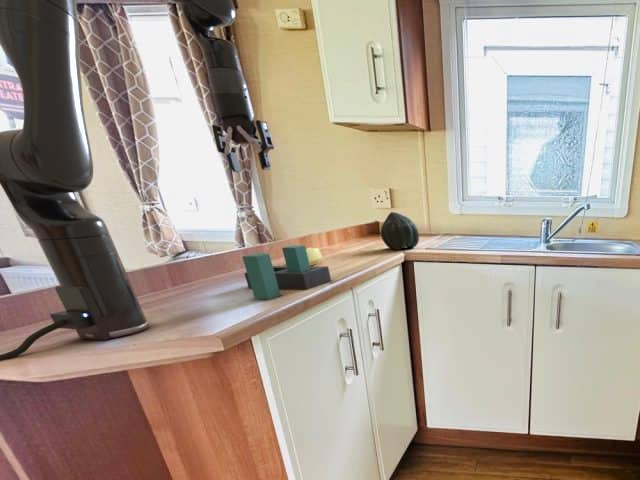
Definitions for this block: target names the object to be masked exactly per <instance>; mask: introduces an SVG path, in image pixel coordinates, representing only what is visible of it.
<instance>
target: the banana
mask: <svg viewBox="0 0 640 480" xmlns="http://www.w3.org/2000/svg"><path fill="white" fill-rule="evenodd" d="M306 252H307V256H308V260H309V264H310V266H313V265H316V264H318V263H319V262H320V261H321V260H322V258H323V255H322V254H321V251H320V250H319V248H318V247H307V248H306ZM279 266H287V265H286V263H284V264H282V265H281V264H280V265H279Z"/></svg>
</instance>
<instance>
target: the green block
mask: <svg viewBox="0 0 640 480" xmlns="http://www.w3.org/2000/svg"><path fill="white" fill-rule="evenodd" d="M241 257H242V260H243V264H244V268H245V270H246V273H247V274H248V277H249V281H250V284H251V287H252V288H251V290H252V293H253V297H254V299H255V300H271V299H275V298H278V297H281V296H282V295H281V291H280V289H279V287H278V284H277V280H276V277H275V273H274V269H273V266H274V265H273V263H272V259H271V255H270V253H252V254H248V255H247V254H246V255H242V256H241Z"/></svg>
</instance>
